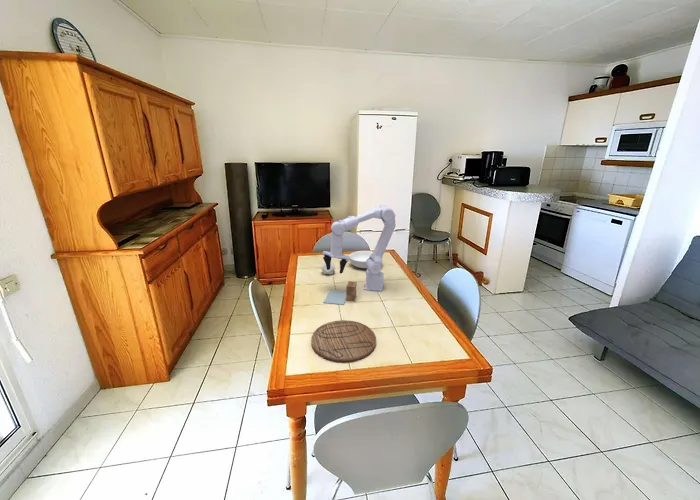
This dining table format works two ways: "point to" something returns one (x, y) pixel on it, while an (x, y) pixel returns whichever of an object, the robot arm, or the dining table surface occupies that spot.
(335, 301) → the mat
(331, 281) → the dining table surface
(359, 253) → the serving bowl
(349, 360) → the trivet
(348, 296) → the block
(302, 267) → the dining table surface
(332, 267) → the die
